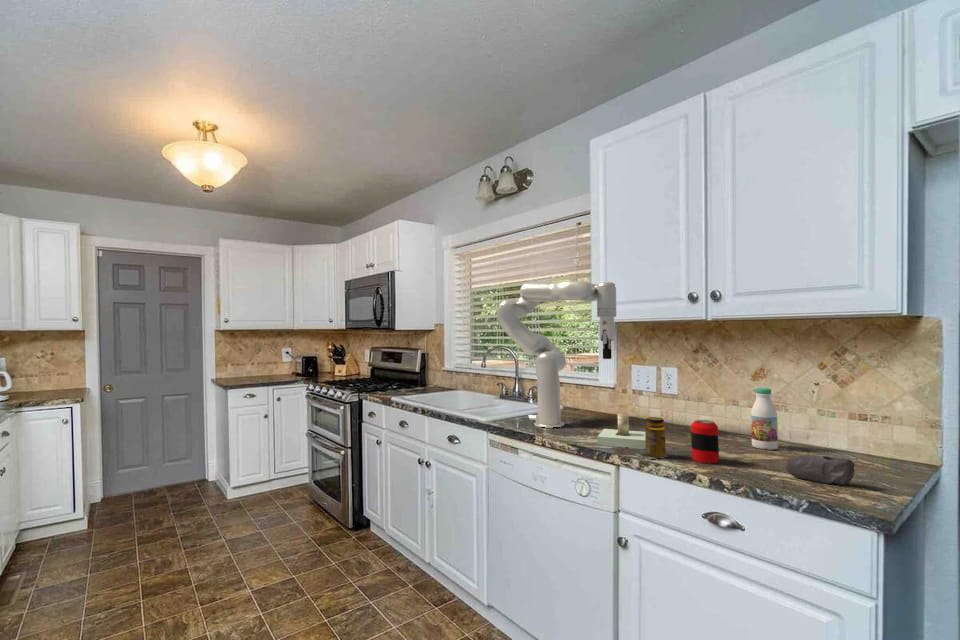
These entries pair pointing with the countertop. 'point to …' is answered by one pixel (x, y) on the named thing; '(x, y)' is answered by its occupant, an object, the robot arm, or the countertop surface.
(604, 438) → the board
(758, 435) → the milk bottle
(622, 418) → the peg
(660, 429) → the condiment
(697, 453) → the soda can
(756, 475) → the countertop surface
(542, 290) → the robot arm
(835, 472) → the perforated stone tool
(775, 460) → the countertop surface
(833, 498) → the countertop surface
